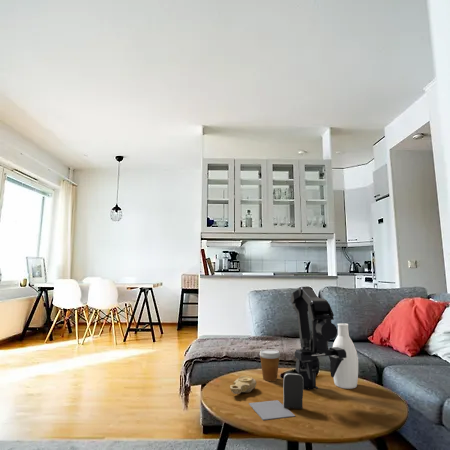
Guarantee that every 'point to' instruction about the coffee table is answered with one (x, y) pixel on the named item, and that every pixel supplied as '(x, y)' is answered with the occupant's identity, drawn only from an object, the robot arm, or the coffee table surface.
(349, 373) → the bottle
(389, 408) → the coffee table surface
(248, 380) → the oil lamp
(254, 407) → the mat
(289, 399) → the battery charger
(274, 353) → the disposable coffee cup
